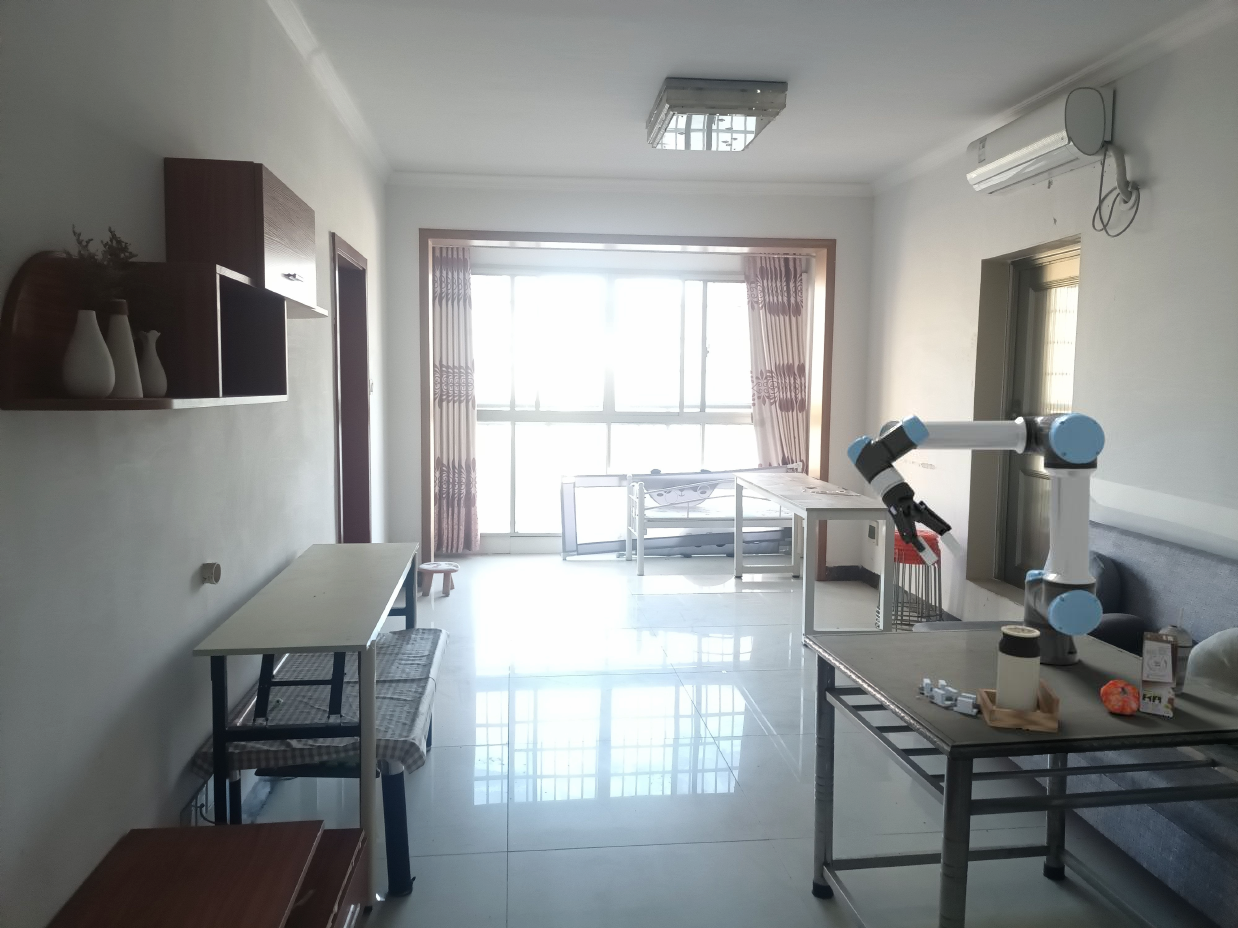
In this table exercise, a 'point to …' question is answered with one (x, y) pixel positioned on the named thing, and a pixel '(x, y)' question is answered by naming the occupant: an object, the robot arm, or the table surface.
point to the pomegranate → (1120, 697)
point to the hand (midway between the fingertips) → (947, 559)
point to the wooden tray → (1022, 719)
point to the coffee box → (1158, 673)
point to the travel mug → (1018, 669)
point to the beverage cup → (1180, 651)
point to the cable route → (950, 697)
